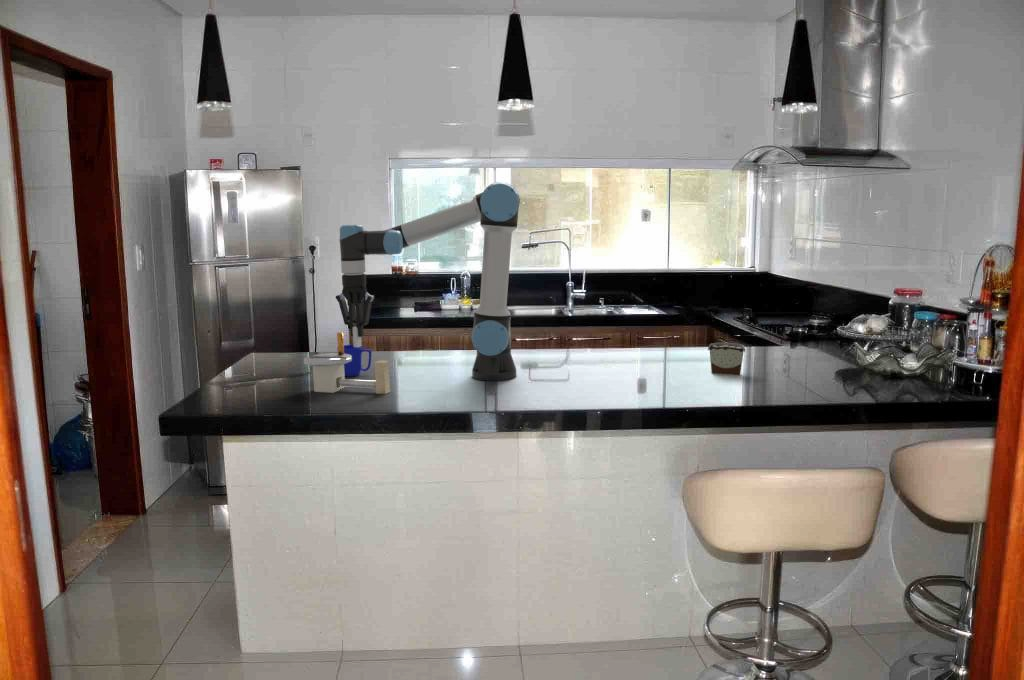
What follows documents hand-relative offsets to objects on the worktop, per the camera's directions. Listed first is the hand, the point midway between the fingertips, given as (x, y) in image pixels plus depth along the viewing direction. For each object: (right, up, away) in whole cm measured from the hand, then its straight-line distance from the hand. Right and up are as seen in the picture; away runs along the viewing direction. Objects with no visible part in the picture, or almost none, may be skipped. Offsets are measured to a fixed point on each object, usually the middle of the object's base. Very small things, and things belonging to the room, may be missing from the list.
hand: (357, 346), depth 253 cm
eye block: (-9, -14, 0) cm, 16 cm away
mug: (-5, -10, +20) cm, 23 cm away
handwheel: (-9, -5, -2) cm, 10 cm away
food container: (+123, -9, +12) cm, 124 cm away
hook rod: (-1, -14, -3) cm, 14 cm away
